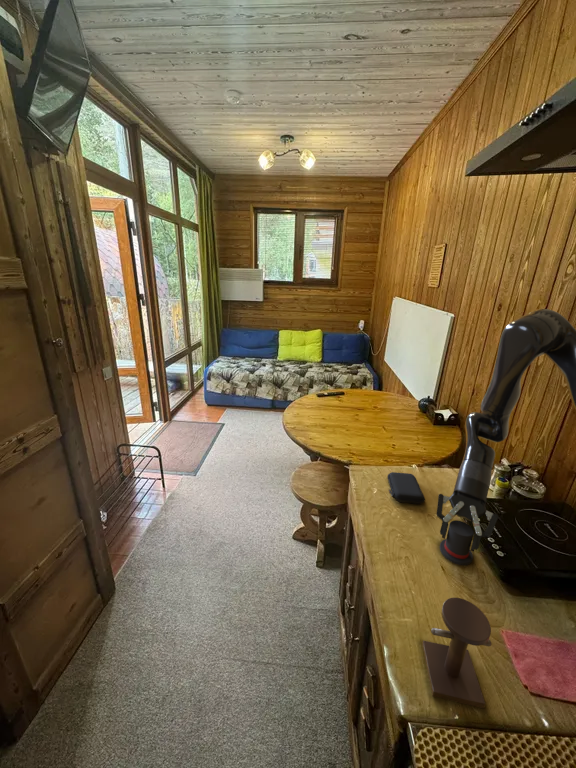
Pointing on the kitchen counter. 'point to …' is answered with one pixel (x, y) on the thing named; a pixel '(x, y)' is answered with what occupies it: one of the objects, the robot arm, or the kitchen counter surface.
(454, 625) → the coat stand
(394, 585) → the kitchen counter surface
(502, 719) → the kitchen counter surface
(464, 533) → the hat
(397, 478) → the carrying case
